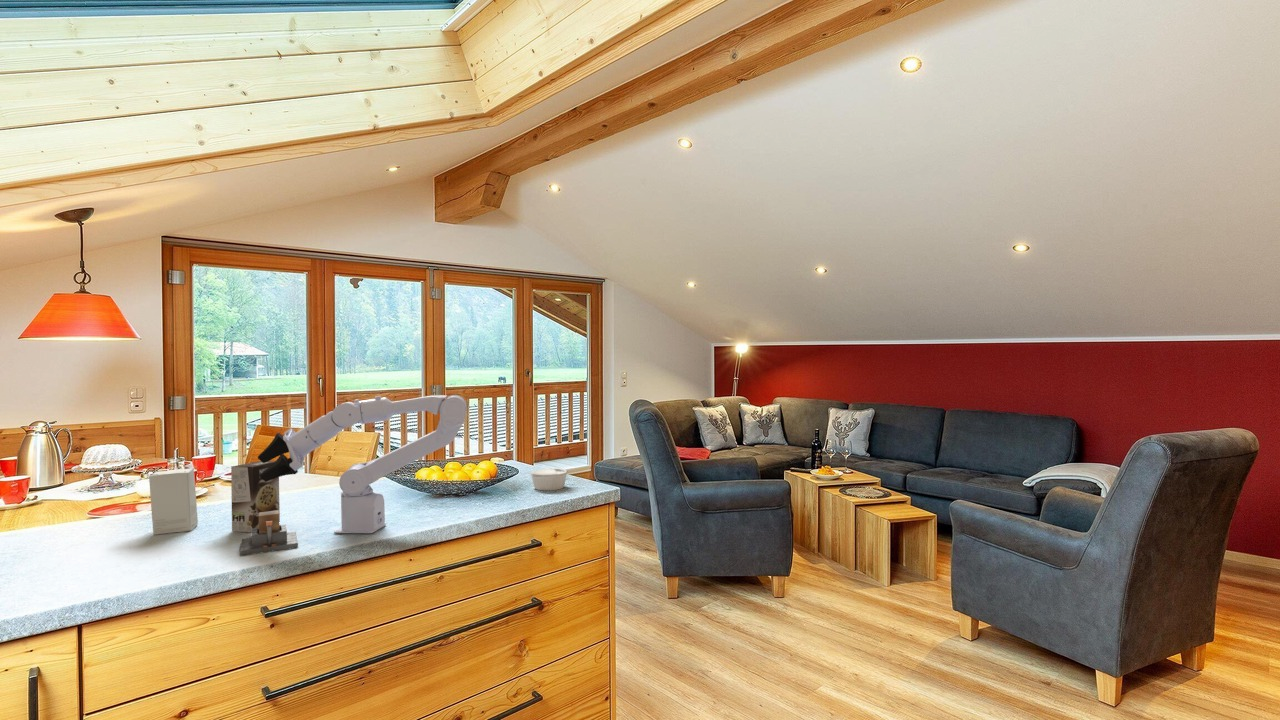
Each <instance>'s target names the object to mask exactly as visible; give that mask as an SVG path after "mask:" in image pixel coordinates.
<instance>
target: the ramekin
mask: <svg viewBox="0 0 1280 720" xmlns="http://www.w3.org/2000/svg"><path fill="white" fill-rule="evenodd" d="M567 474H568V472H567V470H566V469H563V468H562V469H561V468H538V469H535V470H532V471H531V472H530V475H531V477H532V478H531V479H532V484H533V488H534V489H536V490H538V491H546V490H547V491H549V490H550V491H557V490H561V489H563V488H564V487H565V485H566V478H567ZM550 491H549V492H550Z"/></svg>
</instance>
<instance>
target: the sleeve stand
mask: <svg viewBox="0 0 1280 720" xmlns="http://www.w3.org/2000/svg"><path fill="white" fill-rule="evenodd" d="M271 525H272V521H266V526H267V533H260V534H259V528H253V529H252V532H251V537H244V538H241V543H240V549H239V550H240V551H239V552H240V553H239V554H240V555H239V556H241V555H242V556H248V555H247V554H249V555H254V554H253V553H256V554H261V553H260V552H263V553H267V552H268V551H270V552H275V550H277V551H281V549H284V550H290V549H289V548H291V549H296V547H298V548H299V541H298V540H299V539H298V535H297V531H290V532H288V529H287V524H279V527H280V531H276V532H271Z"/></svg>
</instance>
